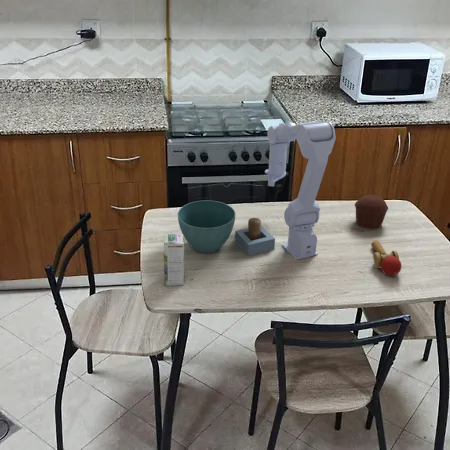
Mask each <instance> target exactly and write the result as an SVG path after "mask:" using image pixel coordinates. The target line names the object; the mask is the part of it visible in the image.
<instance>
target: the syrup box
mask: <svg viewBox="0 0 450 450" xmlns="http://www.w3.org/2000/svg"><path fill="white" fill-rule="evenodd" d="M184 241H185V237H184V236H183V234H182V233H165V234H163V269H164V270H163V275H164V286H166V287H167V286H170V287H171V286H184V284H185V244H184V243H185V242H184Z"/></svg>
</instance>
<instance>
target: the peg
mask: <svg viewBox="0 0 450 450" xmlns="http://www.w3.org/2000/svg"><path fill="white" fill-rule="evenodd" d="M247 221H248V224H247V225H248V227H247V228H248V238H249V239H250V240H251V241H252V240H257V239H261V226H262V224H261V223H262V220H261V219H260V218H258V217H251V218H249V219H248V220H247Z"/></svg>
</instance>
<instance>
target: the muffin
mask: <svg viewBox="0 0 450 450" xmlns="http://www.w3.org/2000/svg"><path fill="white" fill-rule="evenodd" d="M354 207H355V221H356V223H357V226H360V227H362V228H363V229H369V230H375V229H380V227H381V226H382V225H383V223H384V220H385V216H386V214H387V212H388V210H389V207H388V205H387V202H386V201H385V200H384V198H382V197H381V196H378V195H375V194H367V195H364V196H362V197H360V198H359V199H357V201H356V202H355V203H354Z"/></svg>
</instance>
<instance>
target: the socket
mask: <svg viewBox="0 0 450 450" xmlns="http://www.w3.org/2000/svg"><path fill="white" fill-rule="evenodd" d="M234 242H235V243H236V244H237V246H239V248H240V249H241V250H242V251H243V252H244V253H245V254H246V255H247V256H252V255H256V254H260V253H264V252H265V253H266V252H268V251H272V250H275V245H276V238H275V237H274V236H273V235H272V234H271V233H270V232H269V230H267V229H266V228H265V227H263V225H261V239H257V240H252V241H251V240H250V239H249V238H248V227H245V228H241V229H238V230H237V229H236V230H235V231H234Z"/></svg>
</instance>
